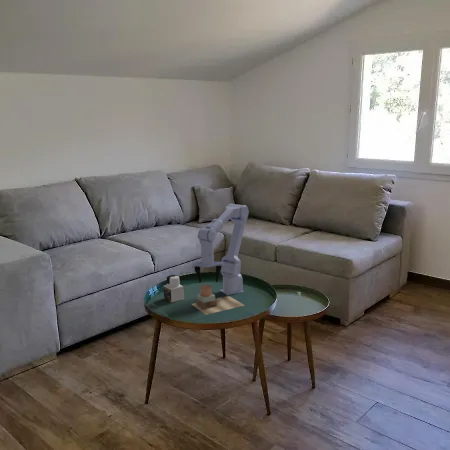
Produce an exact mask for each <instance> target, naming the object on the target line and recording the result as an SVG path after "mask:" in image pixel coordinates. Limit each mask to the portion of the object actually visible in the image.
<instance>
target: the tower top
mask: <svg viewBox="0 0 450 450" xmlns="http://www.w3.org/2000/svg"><path fill="white" fill-rule="evenodd" d="M197 299H198V300H200V301H201V302H203V303H207V302H211V301H215V299H216V295H215V294H214V293H212V292H211V296H208V297H203V296H201V293H197Z"/></svg>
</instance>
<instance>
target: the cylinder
mask: <svg viewBox="0 0 450 450" xmlns="http://www.w3.org/2000/svg"><path fill="white" fill-rule="evenodd" d="M211 293H212V285H211V284H203V285H201V286H200V294H201V296H203V297H208V296H211Z"/></svg>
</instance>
